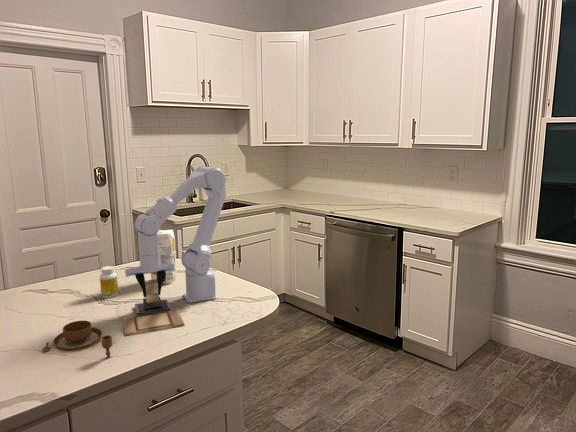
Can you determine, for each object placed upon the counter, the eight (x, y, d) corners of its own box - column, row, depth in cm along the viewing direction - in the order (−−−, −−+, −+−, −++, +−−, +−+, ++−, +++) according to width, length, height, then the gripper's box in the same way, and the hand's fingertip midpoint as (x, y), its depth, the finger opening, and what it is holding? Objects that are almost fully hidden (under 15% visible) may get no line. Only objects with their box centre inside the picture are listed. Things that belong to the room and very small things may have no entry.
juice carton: (172, 284, 162) (170, 233, 158) (149, 284, 162) (146, 233, 158) (178, 277, 169) (175, 228, 166) (155, 277, 169) (152, 228, 166)
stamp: (159, 300, 143) (158, 278, 142) (161, 306, 139) (160, 283, 137) (143, 302, 141) (141, 280, 140) (145, 308, 137) (143, 285, 135)
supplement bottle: (112, 298, 149) (110, 270, 147) (98, 297, 150) (95, 269, 148) (121, 292, 154) (119, 265, 152) (107, 291, 155) (105, 264, 153)
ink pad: (167, 302, 146) (166, 298, 146) (170, 310, 139) (170, 307, 139) (135, 307, 142) (134, 303, 142) (137, 316, 135) (136, 312, 135)
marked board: (177, 311, 139) (177, 308, 139) (184, 325, 129) (184, 323, 129) (123, 320, 133) (123, 317, 132) (125, 335, 123) (125, 333, 122)
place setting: (113, 327, 129) (111, 308, 128) (117, 360, 111) (115, 338, 110) (45, 339, 122) (42, 319, 121) (37, 376, 104) (34, 353, 103)
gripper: (171, 247, 143) (173, 287, 146) (123, 252, 138) (126, 294, 140) (174, 253, 137) (177, 294, 140) (124, 258, 131) (128, 302, 134)
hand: (151, 295), depth 140 cm, fingers closed on stamp, 4 cm apart
